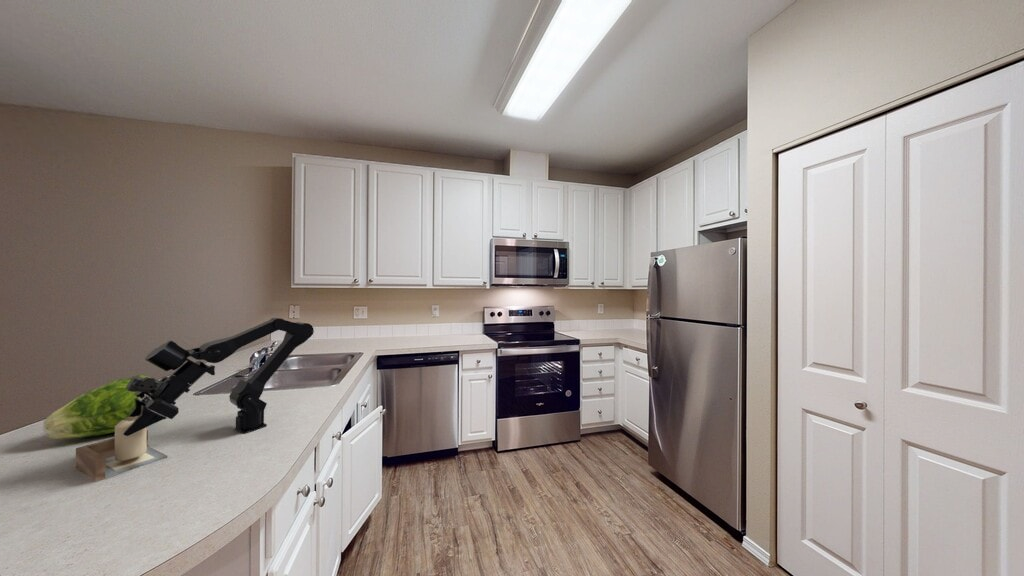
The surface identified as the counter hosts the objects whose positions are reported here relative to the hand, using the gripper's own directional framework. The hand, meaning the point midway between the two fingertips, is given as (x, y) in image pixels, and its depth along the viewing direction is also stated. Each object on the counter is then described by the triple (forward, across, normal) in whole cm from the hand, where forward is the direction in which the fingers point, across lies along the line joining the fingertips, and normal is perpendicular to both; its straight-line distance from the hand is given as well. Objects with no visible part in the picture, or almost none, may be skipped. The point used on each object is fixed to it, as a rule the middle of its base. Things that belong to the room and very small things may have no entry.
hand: (123, 432), depth 86 cm
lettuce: (+6, -31, +6) cm, 32 cm away
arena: (+6, -2, +6) cm, 9 cm away
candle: (+4, 0, +6) cm, 7 cm away
